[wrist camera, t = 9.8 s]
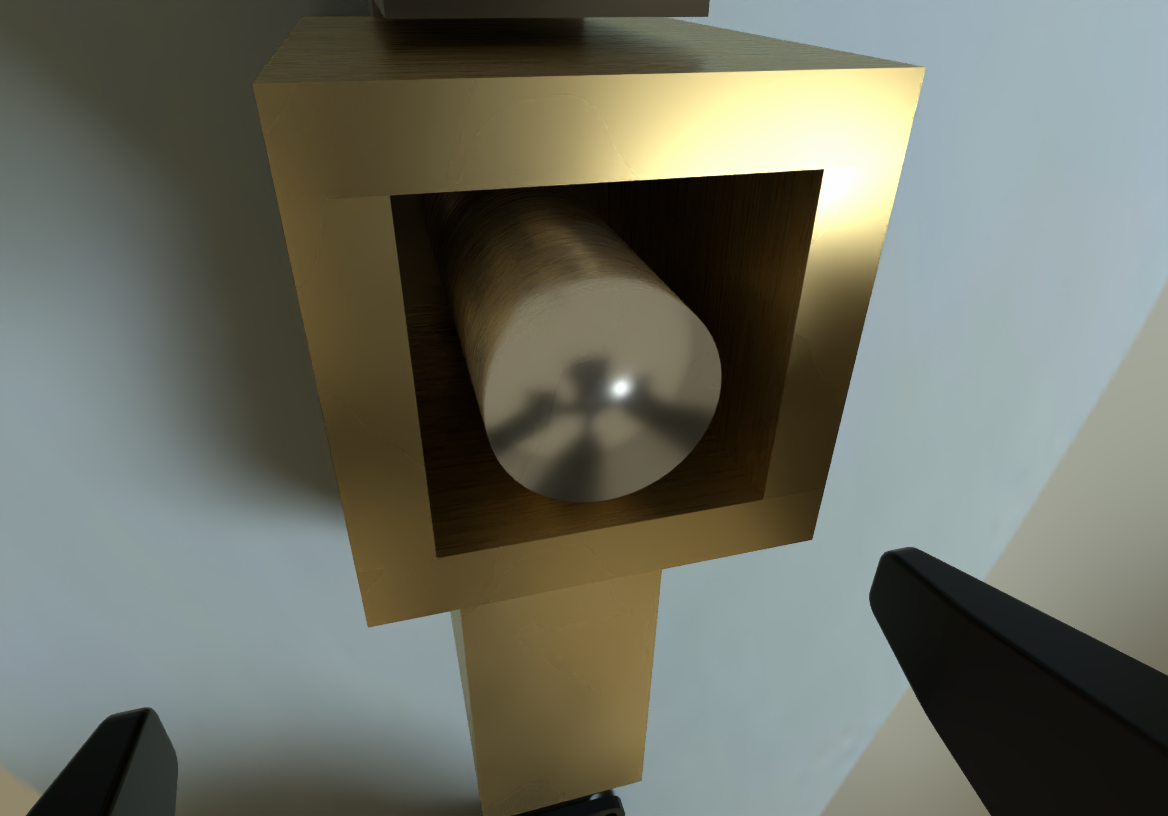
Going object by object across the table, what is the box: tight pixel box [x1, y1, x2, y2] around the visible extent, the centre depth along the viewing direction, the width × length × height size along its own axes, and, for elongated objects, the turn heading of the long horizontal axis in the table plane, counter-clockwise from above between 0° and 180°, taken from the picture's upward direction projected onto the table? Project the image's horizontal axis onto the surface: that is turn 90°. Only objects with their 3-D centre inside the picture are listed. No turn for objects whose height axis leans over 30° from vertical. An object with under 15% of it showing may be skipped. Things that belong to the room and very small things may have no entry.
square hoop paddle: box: [252, 16, 926, 816], centre depth 10 cm, size 10×4×8 cm, turn 179°
